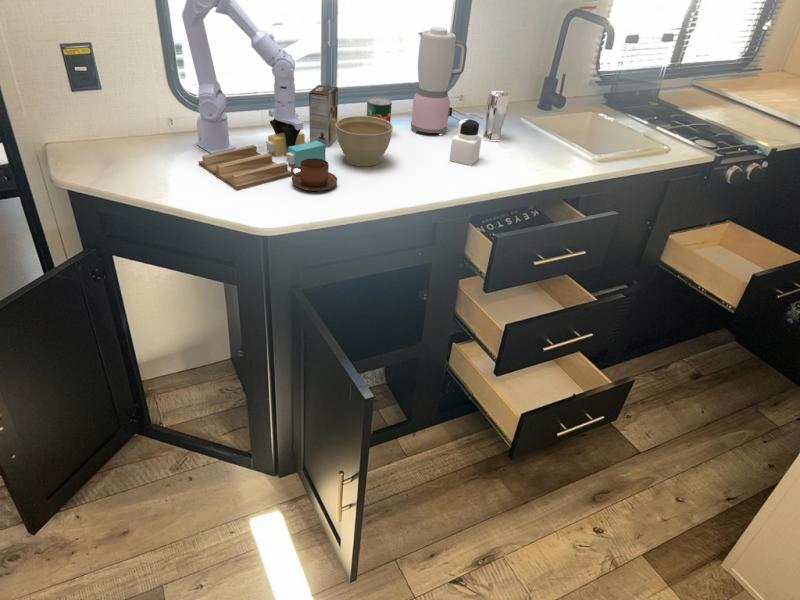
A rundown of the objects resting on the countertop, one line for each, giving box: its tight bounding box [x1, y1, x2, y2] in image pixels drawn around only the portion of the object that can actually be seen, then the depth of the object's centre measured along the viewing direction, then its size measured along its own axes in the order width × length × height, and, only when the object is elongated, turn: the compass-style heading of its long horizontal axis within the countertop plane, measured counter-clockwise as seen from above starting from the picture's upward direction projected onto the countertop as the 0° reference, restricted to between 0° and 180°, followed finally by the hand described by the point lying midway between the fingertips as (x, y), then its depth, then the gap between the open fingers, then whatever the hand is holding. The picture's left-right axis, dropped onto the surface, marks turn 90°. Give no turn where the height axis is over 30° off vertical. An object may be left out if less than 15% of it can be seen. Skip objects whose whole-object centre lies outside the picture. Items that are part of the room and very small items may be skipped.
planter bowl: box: [336, 115, 393, 167], centre depth 174 cm, size 16×16×11 cm
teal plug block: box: [285, 141, 326, 167], centre depth 172 cm, size 4×11×5 cm, turn 133°
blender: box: [410, 27, 468, 135], centre depth 195 cm, size 16×12×32 cm
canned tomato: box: [366, 96, 393, 123], centre depth 194 cm, size 8×8×11 cm
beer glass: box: [482, 89, 510, 141], centre depth 198 cm, size 7×7×15 cm
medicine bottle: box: [449, 118, 483, 166], centre depth 181 cm, size 7×7×12 cm
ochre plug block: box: [265, 131, 306, 157], centre depth 177 cm, size 4×11×5 cm, turn 133°
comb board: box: [198, 144, 293, 191], centre depth 164 cm, size 20×17×3 cm
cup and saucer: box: [290, 158, 338, 192], centre depth 159 cm, size 12×12×6 cm
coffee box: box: [308, 84, 339, 148], centre depth 184 cm, size 9×6×16 cm
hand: (286, 146), depth 178 cm, fingers closed on ochre plug block, 4 cm apart
